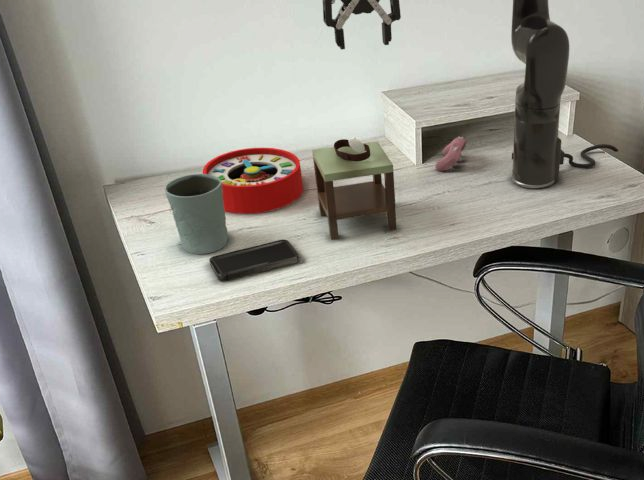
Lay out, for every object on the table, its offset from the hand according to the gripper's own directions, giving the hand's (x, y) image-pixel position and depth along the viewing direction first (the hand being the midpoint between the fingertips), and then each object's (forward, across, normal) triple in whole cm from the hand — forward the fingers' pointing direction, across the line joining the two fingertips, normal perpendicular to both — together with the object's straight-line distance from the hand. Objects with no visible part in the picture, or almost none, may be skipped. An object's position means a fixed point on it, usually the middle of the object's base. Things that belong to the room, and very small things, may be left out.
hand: (364, 46), depth 155 cm
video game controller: (+30, +20, +8) cm, 37 cm away
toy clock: (+30, -24, +8) cm, 39 cm away
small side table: (+30, -6, -12) cm, 33 cm away
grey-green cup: (+30, -36, -11) cm, 48 cm away
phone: (+30, -28, -22) cm, 47 cm away
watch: (+17, -6, -12) cm, 22 cm away
